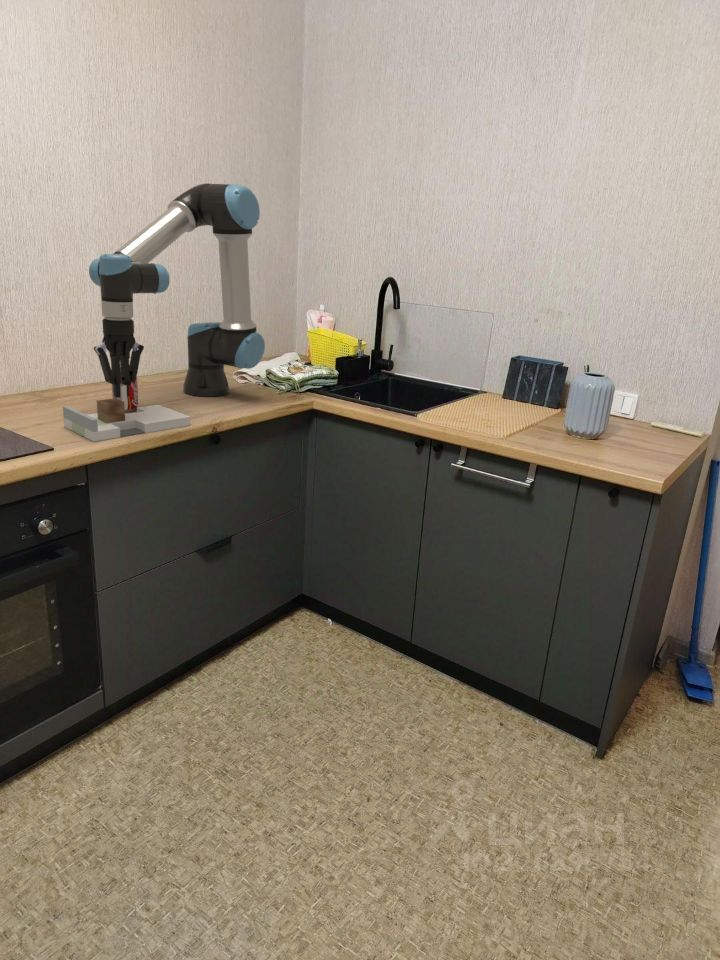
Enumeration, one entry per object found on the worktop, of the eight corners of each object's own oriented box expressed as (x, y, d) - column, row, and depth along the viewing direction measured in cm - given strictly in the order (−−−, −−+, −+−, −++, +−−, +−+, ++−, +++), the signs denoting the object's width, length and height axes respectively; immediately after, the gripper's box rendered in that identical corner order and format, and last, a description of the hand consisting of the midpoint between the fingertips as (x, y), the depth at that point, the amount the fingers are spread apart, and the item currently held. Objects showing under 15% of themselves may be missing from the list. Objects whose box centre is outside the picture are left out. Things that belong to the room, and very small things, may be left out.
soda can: (130, 413, 188) (128, 372, 184) (108, 410, 189) (105, 369, 185) (143, 408, 195) (141, 368, 191) (121, 405, 196) (119, 366, 192)
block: (115, 416, 175) (114, 398, 174) (125, 420, 172) (124, 402, 171) (97, 418, 172) (96, 400, 170) (107, 423, 169) (106, 404, 167)
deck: (158, 412, 192) (158, 394, 190) (190, 425, 182) (190, 406, 180) (64, 426, 172) (62, 406, 170) (94, 441, 162) (92, 420, 160)
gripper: (100, 320, 159) (106, 415, 167) (149, 319, 168) (151, 408, 176) (86, 317, 163) (91, 408, 171) (133, 315, 173) (137, 402, 181)
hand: (122, 408), depth 174 cm, fingers closed
